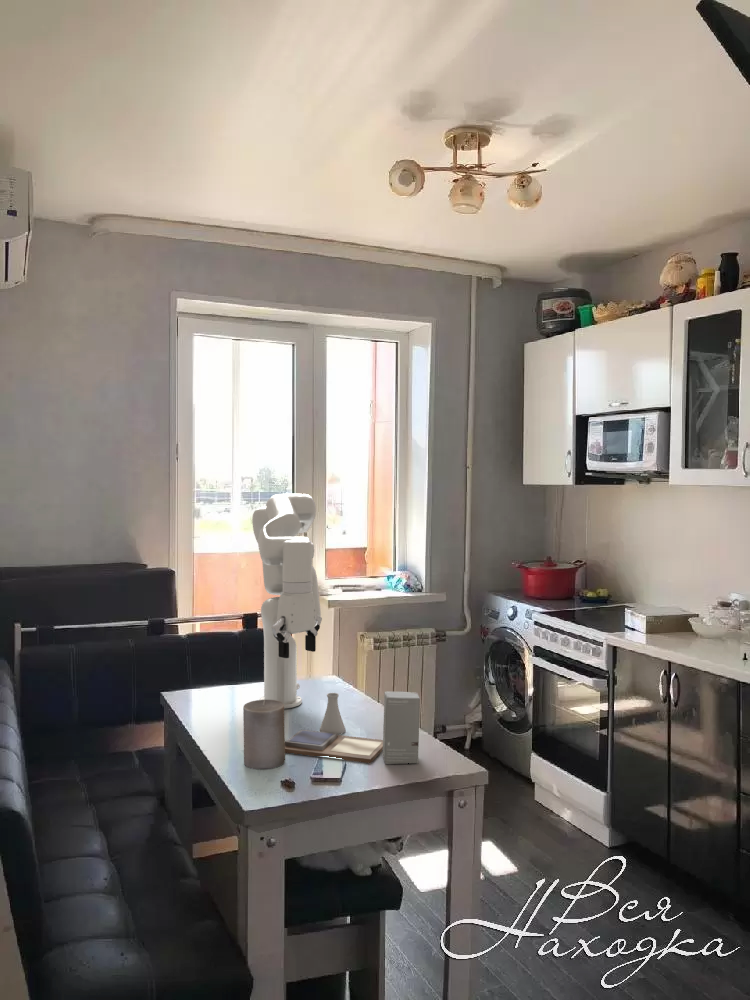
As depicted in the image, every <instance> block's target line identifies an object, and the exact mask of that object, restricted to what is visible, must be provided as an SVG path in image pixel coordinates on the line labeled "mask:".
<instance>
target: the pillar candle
mask: <svg viewBox="0 0 750 1000" xmlns="http://www.w3.org/2000/svg"><path fill="white" fill-rule="evenodd" d="M242 713H243V714H242V715H243V717H242V718H243V763H244V765H246V766H245V767H246V768H249V767H250V768H249V769H252V768H253V770H268V769H275V767H276V768H278V767H280V765H281V766H282V765H284V763H285V761H286V753H285V741H286V739H285V738H286V737H285V733H286V731H285V709H284V704H283V703H282V702H280V701H276V700H259V699H257V700H251V701H249V702H247V703H245V704H243V711H242Z"/></svg>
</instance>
